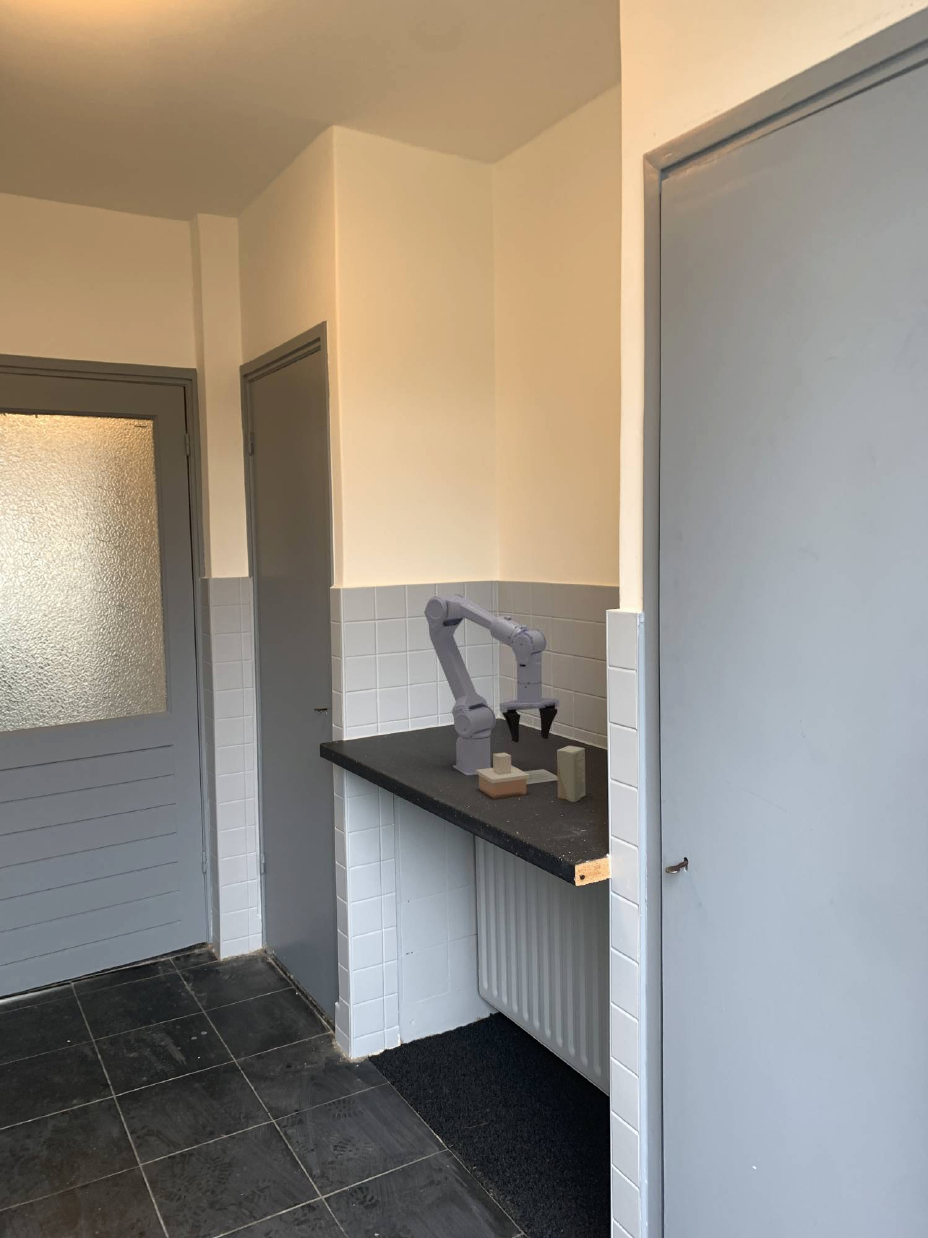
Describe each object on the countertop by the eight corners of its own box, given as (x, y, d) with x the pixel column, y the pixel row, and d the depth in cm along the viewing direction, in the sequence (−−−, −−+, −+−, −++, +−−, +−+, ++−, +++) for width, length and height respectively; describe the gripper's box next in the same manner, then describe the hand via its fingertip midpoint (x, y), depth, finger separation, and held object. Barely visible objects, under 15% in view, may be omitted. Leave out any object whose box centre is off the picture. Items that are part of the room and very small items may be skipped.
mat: (506, 775, 216) (506, 774, 216) (543, 770, 220) (543, 769, 220) (524, 786, 207) (524, 784, 207) (563, 780, 211) (563, 779, 211)
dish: (479, 791, 204) (478, 773, 203) (511, 786, 207) (510, 769, 206) (493, 800, 196) (493, 782, 196) (526, 795, 199) (526, 778, 199)
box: (569, 793, 200) (569, 745, 199) (586, 797, 198) (585, 747, 197) (556, 799, 196) (556, 749, 195) (573, 803, 194) (572, 752, 192)
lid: (475, 773, 204) (475, 752, 203) (511, 768, 207) (511, 748, 207) (492, 783, 195) (491, 761, 195) (529, 778, 199) (529, 757, 198)
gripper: (508, 687, 202) (509, 746, 204) (565, 682, 208) (565, 740, 209) (495, 682, 209) (496, 740, 210) (551, 677, 214) (551, 734, 216)
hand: (530, 739), depth 210 cm, fingers open, 7 cm apart
